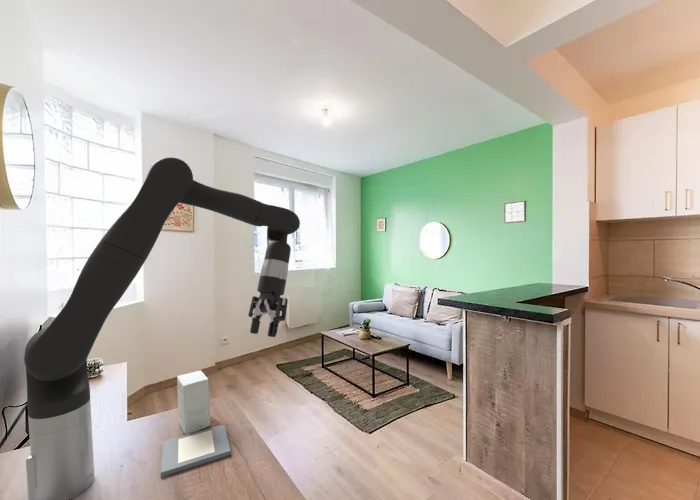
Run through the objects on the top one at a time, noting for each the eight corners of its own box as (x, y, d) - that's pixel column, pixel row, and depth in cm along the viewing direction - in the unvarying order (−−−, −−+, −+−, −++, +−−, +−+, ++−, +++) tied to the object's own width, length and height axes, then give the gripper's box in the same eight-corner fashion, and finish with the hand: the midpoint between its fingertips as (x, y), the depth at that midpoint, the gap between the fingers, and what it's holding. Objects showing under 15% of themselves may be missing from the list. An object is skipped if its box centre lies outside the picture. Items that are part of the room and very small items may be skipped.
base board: (160, 477, 67) (160, 472, 67) (163, 444, 78) (163, 440, 77) (230, 454, 74) (230, 450, 73) (224, 427, 84) (224, 423, 84)
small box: (211, 426, 85) (209, 378, 84) (185, 436, 81) (182, 386, 80) (202, 413, 91) (201, 369, 91) (178, 422, 87) (176, 375, 87)
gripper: (248, 275, 93) (236, 331, 89) (277, 273, 83) (265, 336, 79) (269, 280, 98) (259, 333, 94) (299, 279, 89) (289, 339, 85)
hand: (262, 335), depth 87 cm, fingers open, 8 cm apart
